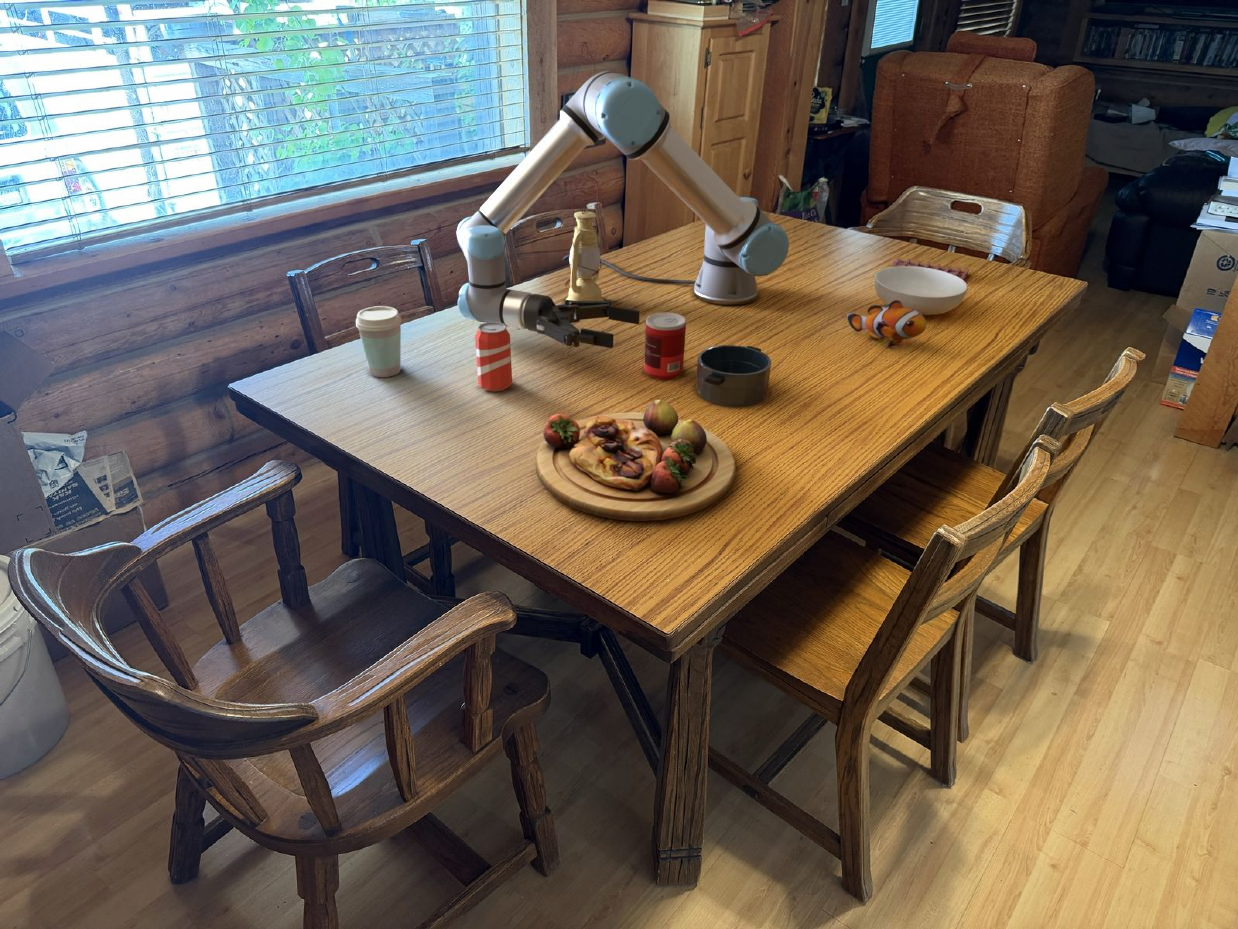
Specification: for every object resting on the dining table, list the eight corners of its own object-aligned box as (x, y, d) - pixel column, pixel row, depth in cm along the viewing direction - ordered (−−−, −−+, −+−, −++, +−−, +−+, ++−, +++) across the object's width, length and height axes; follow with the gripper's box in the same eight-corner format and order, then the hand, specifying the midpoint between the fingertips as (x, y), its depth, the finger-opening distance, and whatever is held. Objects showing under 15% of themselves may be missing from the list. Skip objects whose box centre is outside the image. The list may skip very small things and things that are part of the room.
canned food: (687, 366, 176) (690, 315, 170) (676, 382, 169) (679, 329, 163) (651, 361, 178) (653, 309, 172) (638, 376, 171) (640, 323, 165)
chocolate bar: (894, 263, 236) (895, 256, 235) (967, 275, 228) (969, 268, 227) (887, 270, 230) (889, 263, 229) (962, 283, 223) (964, 275, 222)
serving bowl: (863, 316, 201) (868, 287, 198) (876, 288, 218) (881, 261, 215) (958, 330, 195) (965, 301, 191) (964, 300, 212) (970, 273, 208)
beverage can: (490, 376, 170) (487, 318, 164) (518, 383, 167) (515, 324, 161) (472, 388, 165) (467, 329, 159) (500, 396, 163) (497, 335, 157)
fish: (911, 358, 179) (915, 310, 175) (833, 342, 191) (835, 297, 187) (934, 345, 185) (939, 299, 181) (858, 331, 197) (860, 287, 193)
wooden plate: (494, 484, 136) (491, 438, 132) (604, 406, 160) (604, 365, 156) (675, 551, 122) (678, 501, 118) (766, 455, 146) (771, 410, 141)
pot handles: (704, 382, 158) (705, 377, 158) (747, 349, 171) (748, 345, 171) (718, 386, 157) (719, 381, 156) (760, 353, 170) (761, 348, 169)
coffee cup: (416, 367, 173) (410, 309, 167) (389, 383, 166) (381, 324, 160) (381, 358, 176) (373, 302, 170) (353, 375, 169) (344, 316, 163)
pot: (683, 394, 165) (685, 363, 161) (716, 369, 175) (718, 339, 171) (748, 413, 158) (752, 381, 155) (779, 386, 168) (783, 355, 165)
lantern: (579, 290, 213) (578, 163, 197) (614, 298, 209) (616, 168, 193) (552, 305, 203) (549, 173, 188) (589, 314, 200) (589, 178, 184)
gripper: (557, 309, 191) (648, 325, 184) (500, 350, 171) (600, 370, 164) (556, 276, 187) (649, 291, 180) (498, 314, 167) (600, 332, 160)
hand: (626, 328), depth 172 cm, fingers open, 13 cm apart
